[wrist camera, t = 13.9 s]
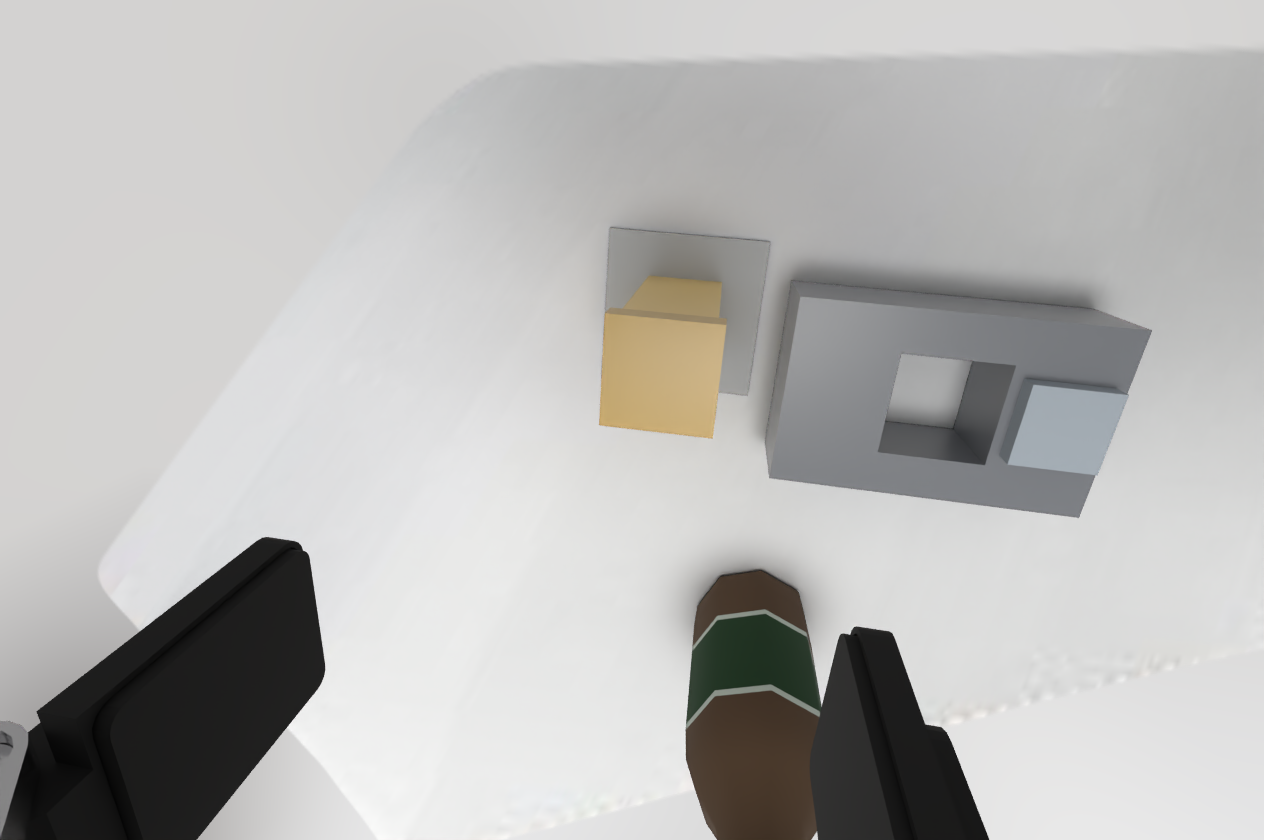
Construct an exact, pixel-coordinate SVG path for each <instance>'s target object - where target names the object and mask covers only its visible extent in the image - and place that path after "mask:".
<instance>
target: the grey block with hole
mask: <svg viewBox="0 0 1264 840" xmlns="http://www.w3.org/2000/svg"><path fill="white" fill-rule="evenodd" d="M1151 332H1152V330H1149V329H1147V328H1144V327H1141V326H1138V325H1136V324H1133V323H1130V322H1128V321H1125V320H1122V319H1120V318H1117V317H1114V316H1112V315H1109V314H1106V313H1103V312H1101V311H1098V310H1095V309H1088V308H1077V307H1067V306H1056V305H1046V304H1035V303H1024V302H1014V301H1003V300H992V299H982V298H971V297H960V296H950V295H939V294H928V293H918V292H907V291H897V290H886V289H875V288H865V287H854V286H843V285H833V284H822V283H811V282H801V281H791V286H790V292H789V299H788V305H787V311H786V317H785V323H784V329H783V335H782V341H781V347H780V353H779V359H778V365H777V371H776V377H775V383H774V390H773V396H772V402H771V408H770V414H769V420H768V426H767V432H766V438H765V448H766V455H767V463H768V471H769V478H773V479H781V480H789V481H797V482H804V483H812V484H820V485H828V486H835V487H843V488H851V489H859V490H867V491H874V492H882V493H890V494H898V495H906V496H913V497H921V498H929V499H937V500H944V501H952V502H960V503H968V504H976V505H983V506H991V507H999V508H1007V509H1014V510H1022V511H1030V512H1038V513H1046V514H1053V515H1061V516H1069V517H1077V518H1079V516H1080V514H1081V511H1082V509H1083V506H1084V503H1085V501H1086V498H1087V496H1088V493H1089V491H1090V488H1091V486H1092V483H1093V480H1094V478H1095V475H1098V473H1099V470H1100V467H1101V465H1102V462H1103V460H1104V457H1105V455H1106V452H1107V450H1108V447H1109V444H1110V442H1111V439H1112V437H1113V434H1114V432H1115V429H1116V427H1117V424H1118V422H1119V419H1120V416H1121V414H1122V411H1123V409H1124V406H1125V404H1126V401H1127V399H1128V396H1129V395H1128V394H1127V393H1128V391H1129V388H1130V386H1131V383H1132V381H1133V378H1134V375H1135V373H1136V370H1137V368H1138V365H1139V363H1140V360H1141V358H1142V355H1143V352H1144V350H1145V347H1146V345H1147V342H1148V340H1149V337H1150V335H1151ZM901 354H911V355H921V356H930V357H940V358H949V359H959V360H968V361H973V362H972V366H971V369H970V373H969V376H968V380H967V383H966V387H965V390H964V394H963V397H962V401H961V404H960V408H959V411H958V415H957V418H956V422H955V425H954V429H948V428H940V427H931V426H922V425H914V424H905V423H897V422H888V421H885V419H886V415H887V411H888V407H889V403H890V399H891V394H892V390H893V386H894V382H895V378H896V374H897V369H898V365H899V361H900V357H901Z"/></svg>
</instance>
